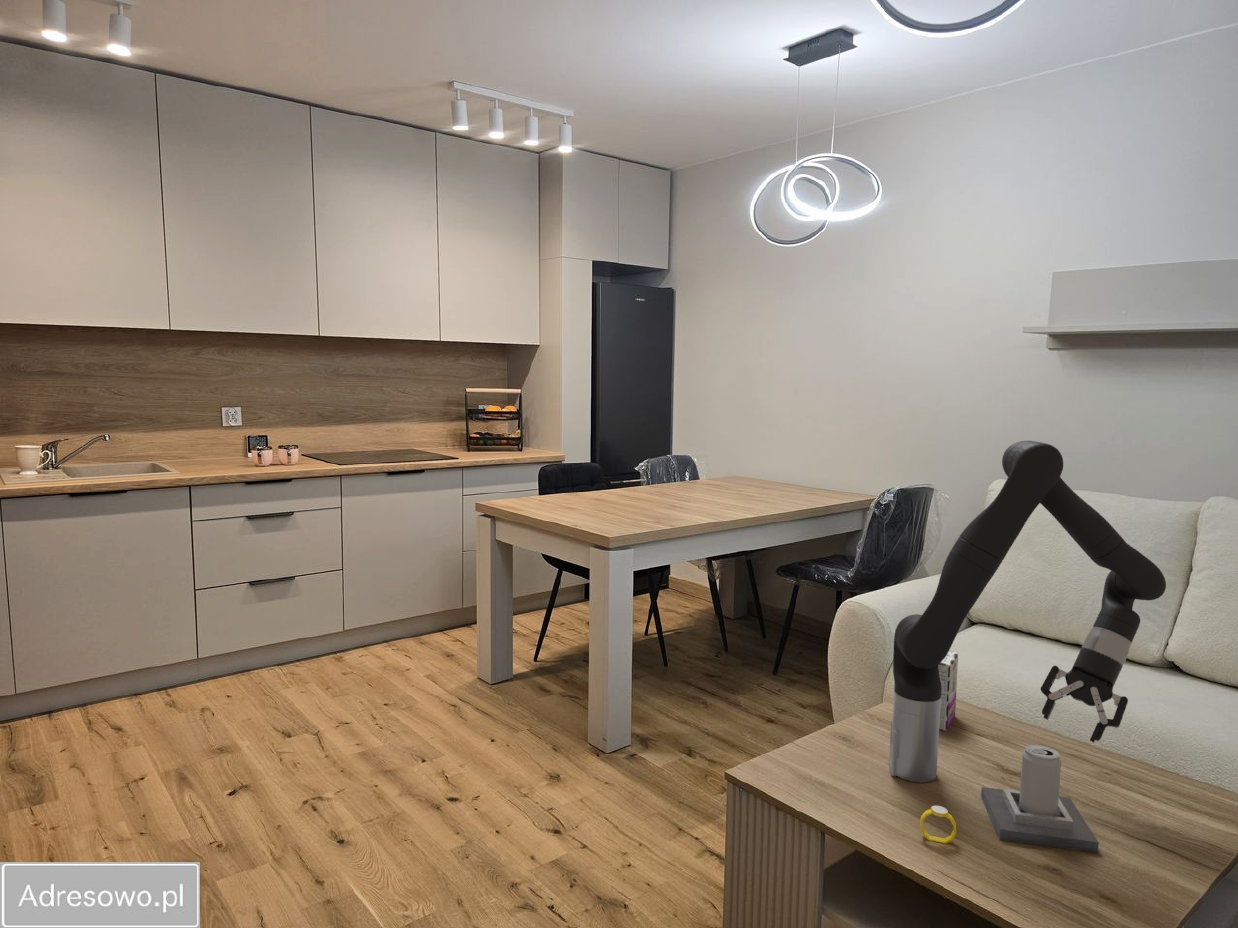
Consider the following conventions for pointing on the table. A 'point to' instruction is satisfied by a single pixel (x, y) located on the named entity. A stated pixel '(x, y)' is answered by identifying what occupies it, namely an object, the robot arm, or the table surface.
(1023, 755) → the beverage can
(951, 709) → the candy bar box
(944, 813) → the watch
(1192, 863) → the table surface
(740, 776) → the table surface
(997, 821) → the mounting plate
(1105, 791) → the table surface
